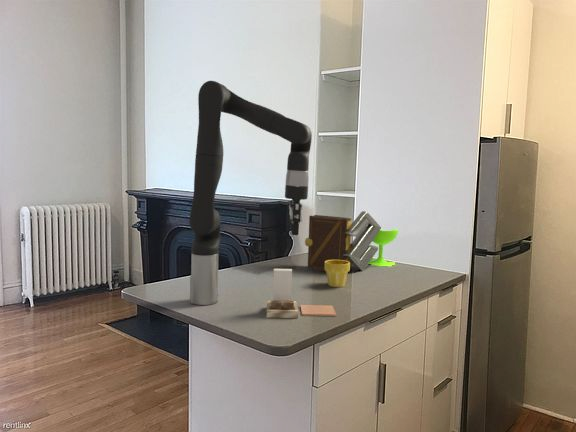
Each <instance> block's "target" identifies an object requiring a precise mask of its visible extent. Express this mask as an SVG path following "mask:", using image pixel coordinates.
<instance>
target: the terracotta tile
mask: <svg viewBox="0 0 576 432" xmlns="http://www.w3.org/2000/svg"><path fill="white" fill-rule="evenodd" d="M300 310H301V311H300V312H301V316H303V317H305V316H306V317H307V316H308V317H336V316H337V313H336V311H335V308H334V306H333V305H327V304H326V305H325V304H324V305H319V304H318V305H316V304H314V305H313V304H300Z"/></svg>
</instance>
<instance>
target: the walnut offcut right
mask: <svg viewBox="0 0 576 432" xmlns="http://www.w3.org/2000/svg"><path fill="white" fill-rule="evenodd" d="M283 310H294V300H291V301H284V302H283Z"/></svg>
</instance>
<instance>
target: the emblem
mask: <svg viewBox="0 0 576 432" xmlns="http://www.w3.org/2000/svg"><path fill="white" fill-rule="evenodd" d="M381 227H382V226H381V225H380V224H379V223H378V222H377V221H376V219H374V218H373V217H372V216H371V215H370V213H369V212H368V211H365V210H363V211H361V212H360V213H359V214H358V216H357V217H356V218H355V219H354V221H353V222H351V225H350V226H349V227H348V229H347V230H346V231H345V233H346V234H347V235H349V236H350V237H355V238H354V239H353V241H351V242H350V246H349V247H348V249H347V250H346V251H345V252H344V253H343V256H344V257H345V258H346V259H347V260H348V261H349V262H350V265H352V266H353V267H354V268H355V269H356V270H357V271H359V270H360V272H364V271H365V269H366V268H367V267H368V266H369V265H368V264H369V262H370V261H371V259H374V258H373V257H374V256H375V255H376V253H377V252H379V246H376V245H371V244H372V243H373V242H372V241H373V239H374V238H375V237H376V235H377V234H378V232H379V231H380V229H381ZM363 270H364V271H363Z"/></svg>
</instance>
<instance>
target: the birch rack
mask: <svg viewBox="0 0 576 432" xmlns="http://www.w3.org/2000/svg"><path fill="white" fill-rule="evenodd" d="M271 301H272V300H267V301H266V318H272V319H274V318H275V319H276V318H277V319H284V318H285V319H298V318H299V308H298V303H297V301H294V300H293V301H294V310H283V305H281V310H271Z"/></svg>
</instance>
